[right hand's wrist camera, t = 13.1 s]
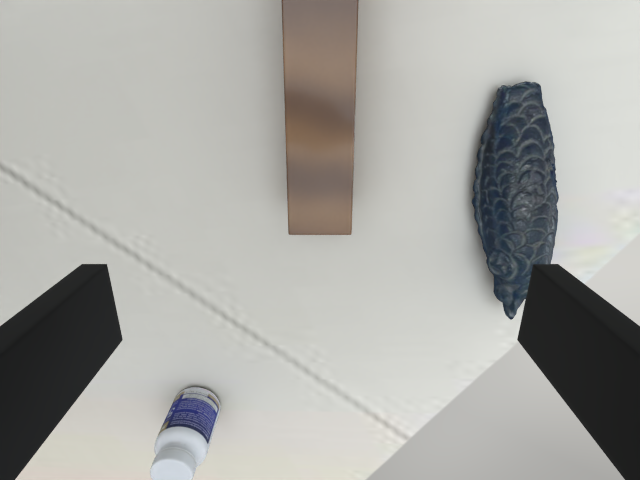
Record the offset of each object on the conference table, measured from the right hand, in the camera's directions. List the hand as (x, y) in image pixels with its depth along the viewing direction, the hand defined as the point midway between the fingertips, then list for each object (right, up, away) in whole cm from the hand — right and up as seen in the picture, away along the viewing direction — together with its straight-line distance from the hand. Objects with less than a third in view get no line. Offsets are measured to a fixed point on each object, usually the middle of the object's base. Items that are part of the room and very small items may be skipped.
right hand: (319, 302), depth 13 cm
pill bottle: (-14, -17, +34) cm, 40 cm away
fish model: (+18, +6, +25) cm, 31 cm away
